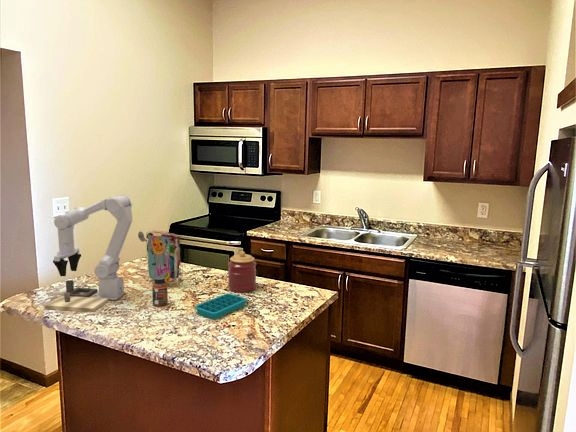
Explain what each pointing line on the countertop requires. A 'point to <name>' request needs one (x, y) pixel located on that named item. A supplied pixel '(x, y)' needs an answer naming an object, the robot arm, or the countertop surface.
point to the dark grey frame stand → (79, 290)
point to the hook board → (76, 303)
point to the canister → (242, 273)
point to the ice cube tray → (220, 305)
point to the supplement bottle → (159, 292)
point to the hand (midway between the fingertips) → (68, 273)
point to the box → (163, 255)
